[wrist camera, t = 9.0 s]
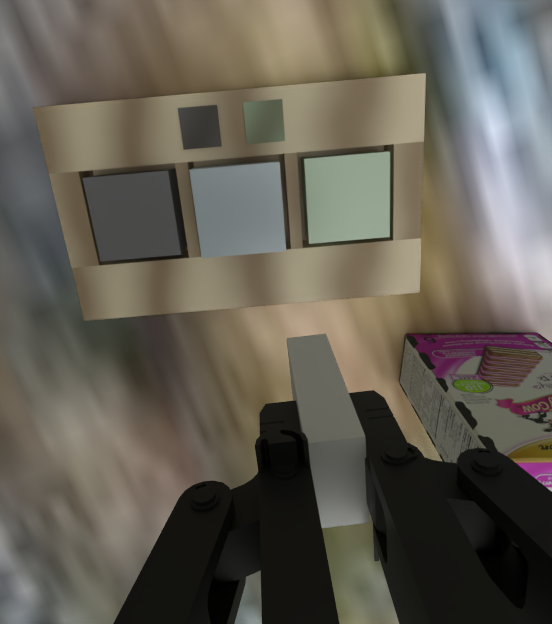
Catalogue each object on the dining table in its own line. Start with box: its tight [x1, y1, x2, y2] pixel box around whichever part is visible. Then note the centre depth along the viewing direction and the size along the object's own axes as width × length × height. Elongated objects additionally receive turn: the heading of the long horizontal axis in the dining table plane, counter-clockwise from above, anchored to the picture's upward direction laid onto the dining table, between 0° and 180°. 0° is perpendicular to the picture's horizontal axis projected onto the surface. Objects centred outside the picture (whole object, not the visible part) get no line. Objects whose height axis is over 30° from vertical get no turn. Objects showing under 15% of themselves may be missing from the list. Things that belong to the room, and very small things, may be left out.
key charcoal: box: [83, 168, 187, 261], centre depth 31 cm, size 5×5×3 cm
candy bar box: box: [400, 333, 552, 491], centre depth 30 cm, size 11×5×16 cm, turn 90°
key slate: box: [189, 161, 286, 258], centre depth 30 cm, size 5×5×3 cm
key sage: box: [301, 151, 390, 244], centre depth 31 cm, size 5×5×3 cm
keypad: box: [33, 73, 426, 321], centre depth 32 cm, size 24×14×3 cm, turn 94°
